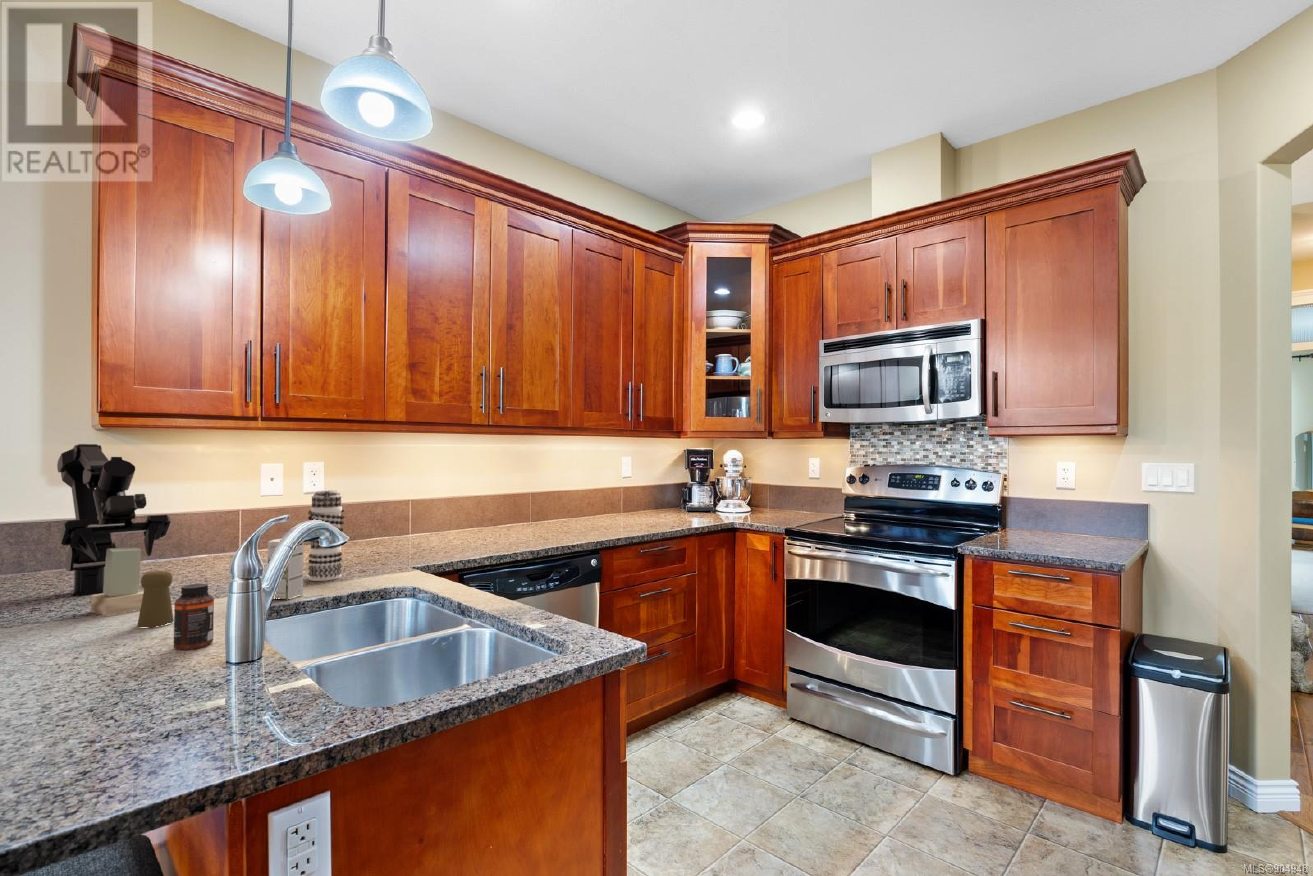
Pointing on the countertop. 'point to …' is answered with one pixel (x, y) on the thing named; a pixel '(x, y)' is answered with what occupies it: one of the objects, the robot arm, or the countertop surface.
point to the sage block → (122, 571)
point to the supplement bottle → (193, 618)
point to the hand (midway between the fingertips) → (124, 557)
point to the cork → (156, 599)
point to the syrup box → (289, 572)
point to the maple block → (116, 603)
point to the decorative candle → (322, 560)
